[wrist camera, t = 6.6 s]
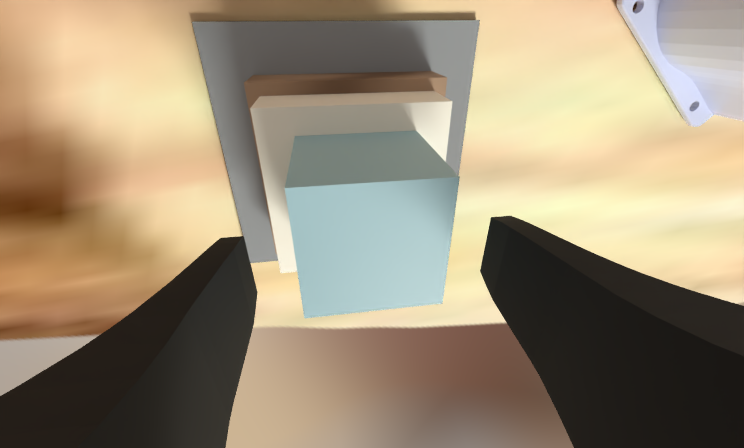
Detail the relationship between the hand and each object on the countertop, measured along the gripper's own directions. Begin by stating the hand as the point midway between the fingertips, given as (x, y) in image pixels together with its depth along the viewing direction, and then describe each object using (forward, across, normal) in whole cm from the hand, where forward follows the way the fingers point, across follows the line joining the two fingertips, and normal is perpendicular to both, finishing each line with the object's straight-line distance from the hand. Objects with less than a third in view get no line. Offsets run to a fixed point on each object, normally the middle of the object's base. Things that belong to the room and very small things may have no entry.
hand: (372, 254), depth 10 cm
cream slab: (+6, 0, 0) cm, 6 cm away
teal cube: (+4, 0, 0) cm, 4 cm away
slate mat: (+9, 0, 0) cm, 9 cm away
